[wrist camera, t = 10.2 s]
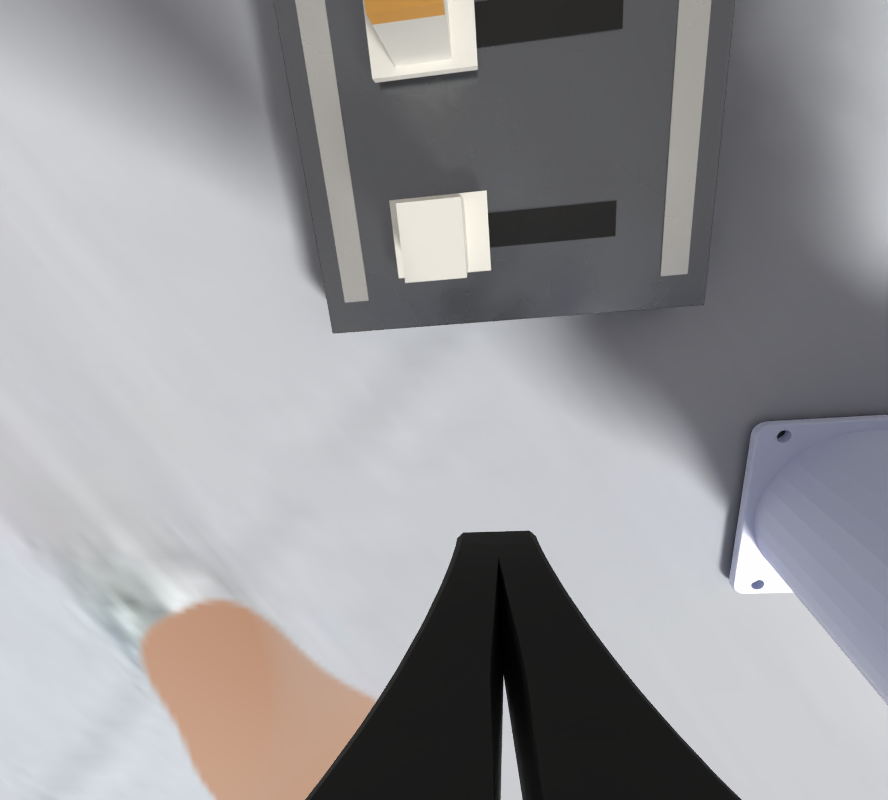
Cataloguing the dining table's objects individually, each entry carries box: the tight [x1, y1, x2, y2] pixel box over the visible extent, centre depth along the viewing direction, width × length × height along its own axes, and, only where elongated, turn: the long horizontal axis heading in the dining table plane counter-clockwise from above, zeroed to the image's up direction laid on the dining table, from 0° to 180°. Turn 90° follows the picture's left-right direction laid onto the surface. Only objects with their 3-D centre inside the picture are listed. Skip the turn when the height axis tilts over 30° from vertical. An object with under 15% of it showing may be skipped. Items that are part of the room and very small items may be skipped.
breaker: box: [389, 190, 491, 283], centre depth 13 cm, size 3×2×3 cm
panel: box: [274, 0, 735, 333], centre depth 14 cm, size 12×16×2 cm
